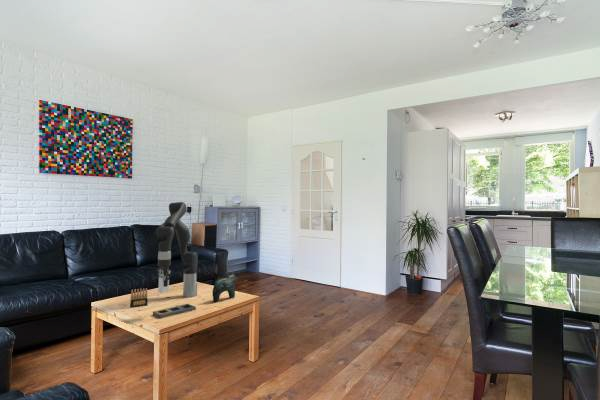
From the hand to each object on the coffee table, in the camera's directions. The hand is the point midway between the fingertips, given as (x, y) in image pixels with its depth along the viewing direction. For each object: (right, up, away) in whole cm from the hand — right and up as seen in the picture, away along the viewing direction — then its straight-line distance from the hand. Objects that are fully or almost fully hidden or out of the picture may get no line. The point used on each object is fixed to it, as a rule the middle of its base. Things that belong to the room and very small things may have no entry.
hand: (163, 285), depth 208 cm
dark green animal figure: (+30, -20, +37) cm, 51 cm away
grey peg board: (+5, -19, +6) cm, 20 cm away
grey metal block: (0, -4, 0) cm, 4 cm away
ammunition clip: (-24, -19, +17) cm, 35 cm away
